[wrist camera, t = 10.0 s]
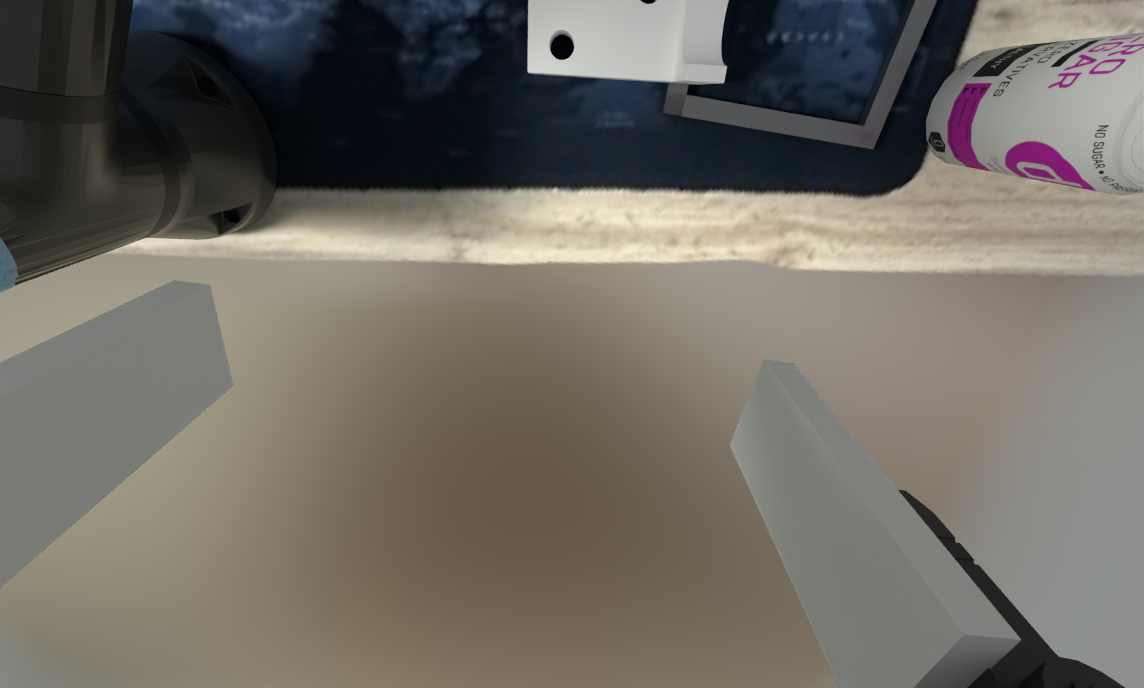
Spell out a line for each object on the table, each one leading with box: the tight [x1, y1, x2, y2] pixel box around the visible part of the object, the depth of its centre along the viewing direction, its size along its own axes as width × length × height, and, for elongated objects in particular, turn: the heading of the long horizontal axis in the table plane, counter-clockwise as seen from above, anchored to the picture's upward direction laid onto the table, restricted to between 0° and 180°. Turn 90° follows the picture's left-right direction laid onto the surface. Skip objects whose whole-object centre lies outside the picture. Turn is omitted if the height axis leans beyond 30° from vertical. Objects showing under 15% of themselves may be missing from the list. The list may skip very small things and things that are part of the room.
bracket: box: [528, 0, 729, 85], centre depth 31 cm, size 13×7×8 cm, turn 87°
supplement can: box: [926, 33, 1144, 195], centre depth 31 cm, size 8×8×15 cm
